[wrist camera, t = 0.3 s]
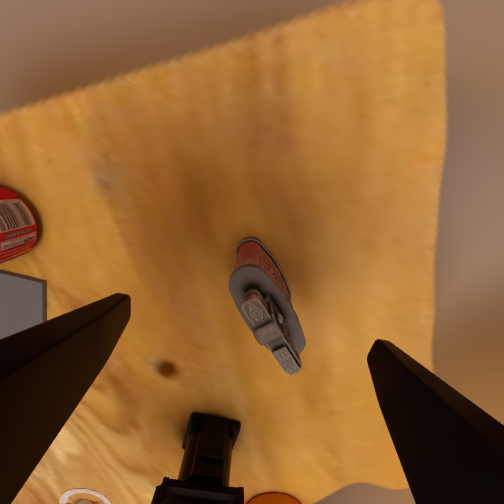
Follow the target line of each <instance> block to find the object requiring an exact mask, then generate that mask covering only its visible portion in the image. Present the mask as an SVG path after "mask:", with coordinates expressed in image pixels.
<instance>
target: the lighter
mask: <svg viewBox="0 0 504 504" xmlns="http://www.w3.org/2000/svg"><path fill="white" fill-rule="evenodd" d="M236 257H237V258H236V264H235V269H234V271H233V272H232V274H231V276H230V280H229V290H230V292H231V295H232V297H233V299H234V301H235V304H236V306H237V308H238V310H239V312H240V314H241V315H242V317H243V319H244V320H245V322H246V324H247V325H248V327H249V328H250V329H251V330H252V332H253V334H254V336H255V338H256V340H257V341H258V343H259V344H260V345H265V346H266V347H267V348H268V349H269V350H270V351H271V352H272V354H273V355H274V357H275V358H276V360H277V361H278V362H279V364H280V365H281V367H282V368H283V370H284V371H285V372H286V373H287V374H289V375H293V374H296V373H298V372H299V371H300V370H301V369H302V364H301V360H300V356H299V353H301V351H302V350H303V349H304V347H305V345H306V343H305V337H304V334H303V331H302V328H301V325H300V322H299V319H298V317H297V315H296V313H295V311H294V309H293V306H292V303H291V298H292V297H291V292H290V289H289V286H288V283H287V280H286V277H285V275H284V273H283V271H282V269H281V267H280V265H279V264H278V262H277V261H276V259H275V258H274V256H273V255H272V254H271V252H270V251H269V250H268V249H267V248H266V246H265V245H264V244H263V243H262V242H261V241H260V240H259V239H257V238H255V237H247V238H244V239H242V240H241V241H240V242H239V243H238V245H237V248H236Z"/></svg>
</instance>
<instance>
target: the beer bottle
mask: <svg viewBox="0 0 504 504" xmlns="http://www.w3.org/2000/svg"><path fill="white" fill-rule="evenodd" d="M248 504H299V502H298V501H297V500H296V499H294V498H293V497H291V496H289V495H285V494H281V493H267V494H262V495H259V496H257V497H255V498H253V499H252V500H251V501H250V502H249V503H248Z"/></svg>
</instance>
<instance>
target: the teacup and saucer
mask: <svg viewBox="0 0 504 504" xmlns="http://www.w3.org/2000/svg"><path fill="white" fill-rule="evenodd" d="M75 493H89V494H93V495H95V496H97V497H99V498H100V499H102V500H103V502H104V503H105V504H111V502H110V500H109V499H108V498H107V497H105V496H104V495H103V494H101V493H99V492H96V491H93V490H89V489H71V490H68V491H66V492H64V493H63V494H62V495H61V497H60V499H59V502H60V504H68V503H67V499H68V497H69V496H70V495H72V494H75ZM77 504H93V503H92V502H91V501H89V500H80V501H79V502H78V503H77Z"/></svg>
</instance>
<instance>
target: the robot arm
mask: <svg viewBox="0 0 504 504" xmlns="http://www.w3.org/2000/svg"><path fill="white" fill-rule="evenodd" d="M130 315H131V298H130V296H129V295H127V294H121V293H116V294H113V295H111V296H108V297H106V298H103V299H101V300H98V301H96V302H93V303H91V304H88V305H86V306H83V307H81V308H78V309H76V310H73V311H71V312H68V313H65V314H63V315H60V316H58V317H55V318H53V319H50V320H48V321H45V322H43V323H40V324H38V325H35V326H33V327H30V328H28V329H25V330H23V331H20V332H18V333H15V334H13V335H10V336H7V337H5V338H2V339H0V504H11V503H12V501H13V500H14V498H15V497H16V495H17V494H18V493H19V491H20V490H21V488H22V487H23V485H24V484H25V482H26V481H27V479H28V478H29V476H30V475H31V473H32V472H33V470H34V469H35V467H36V466H37V464H38V463H39V461H40V460H41V458H42V457H43V456H44V454H45V453H46V451H47V450H48V448H49V447H50V445H51V444H52V442H53V441H54V439H55V438H56V436H57V435H58V433H59V432H60V430H61V429H62V427H63V426H64V424H65V423H66V422H67V420H68V419H69V417H70V416H71V414H72V413H73V411H74V410H75V408H76V407H77V405H78V404H79V402H80V401H81V399H82V398H83V396H84V395H85V393H86V392H87V390H88V389H89V387H90V386H91V385H92V383H93V382H94V380H95V379H96V377H97V376H98V374H99V373H100V371H101V370H102V368H103V367H104V365H105V364H106V362H107V360H108V359H109V357H110V355H111V353H112V351H113V350H114V348H115V346H116V344H117V342H118V340H119V338H120V336H121V335H122V333H123V331H124V329H125V327H126V325H127V323H128V321H129V319H130ZM367 362H368V366H369V370H370V373H371V377H372V381H373V385H374V388H375V392H376V396H377V399H378V402H379V406H380V408H381V411H382V414H383V417H384V419H385V422H386V425H387V428H388V430H389V433H390V436H391V438H392V441H393V444H394V446H395V449H396V452H397V454H398V457H399V460H400V463H401V465H402V468H403V471H404V473H405V476H406V479H407V481H408V484H409V487H410V489H411V492H412V495H413V498H414V500H415V503H416V504H504V425H502V424H501V423H500V422H498V421H497V420H496V419H494V418H493V417H492V416H490V415H489V414H487V413H486V412H485V411H483V410H482V409H481V408H479V407H478V406H477V405H475V404H474V403H473V402H471V401H470V400H468V399H467V398H466V397H464V396H463V395H462V394H460V393H459V392H458V391H456V390H455V389H454V388H452V387H451V386H449V385H448V384H447V383H445V382H444V381H443V380H441V379H440V378H439V377H437V376H436V375H435V374H433V373H432V372H430V371H429V370H428V369H426V368H425V367H424V366H422V365H421V364H420V363H418V362H417V361H415V360H414V359H413V358H411V357H410V356H409V355H407V354H406V353H405V352H403V351H402V350H401V349H399V348H398V347H396V346H395V345H394V344H392V343H391V342H390V341H387V340H381V339H377V340H376V341H375V342H374V344H373V346H372V348H371V350H370V351H369V353H368V356H367ZM240 427H241V424H240V423H239V422H237V421H232V420H227V419H222V418H217V417H212V416H207V415H203V414H198V413H192V414H191V416H190V420H189V423H188V427H187V431H186V434H185V438H184V441H183V445H182V448H183V449H184V450H185V452H184V456H183V460H182V464H181V468H180V472H179V476H178V480H176V479H169V477H164V479H163V482H162V484H161V485H159V486H157V487H156V490H155V493H154V496H153V499H152V503H151V504H244V487H238V488H237V487H229V480H230V467H231V454H232V449H233V446H234V444H235V441H236V439H237V436H238V433H239V431H240Z"/></svg>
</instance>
